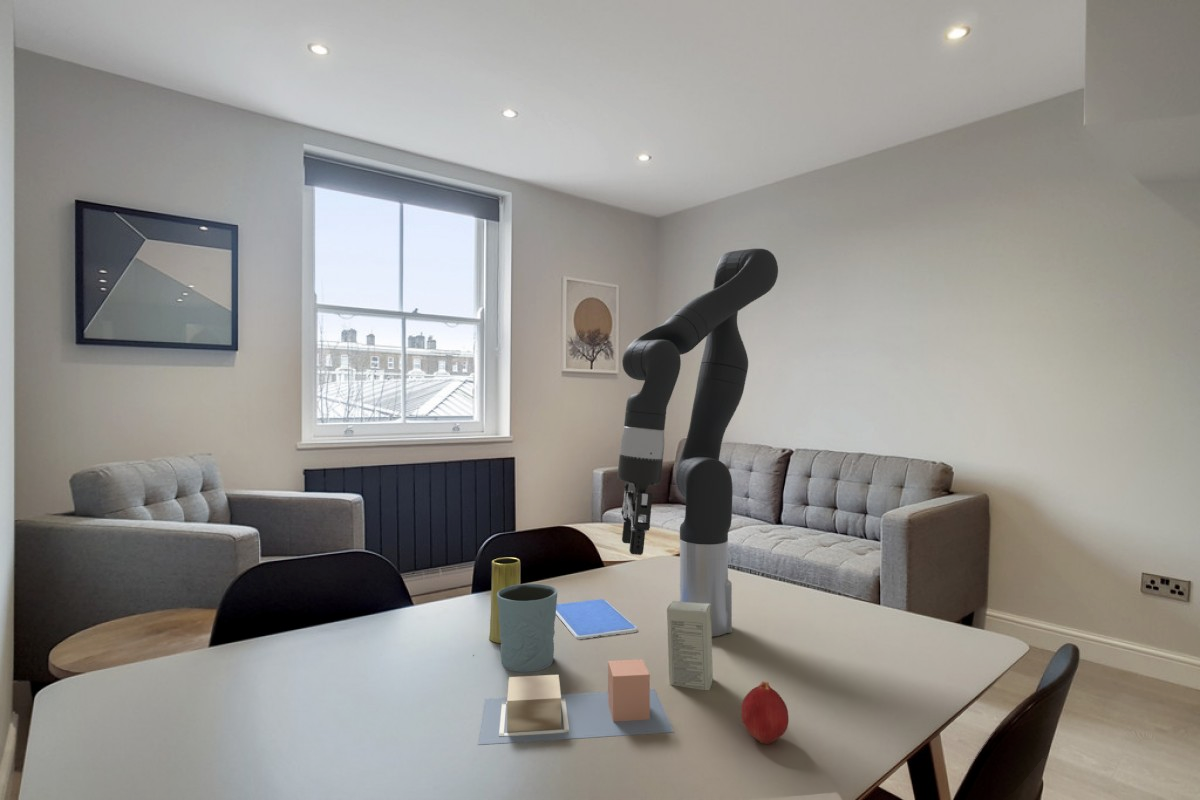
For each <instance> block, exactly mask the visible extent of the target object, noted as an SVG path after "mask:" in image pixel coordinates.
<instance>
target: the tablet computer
mask: <svg viewBox="0 0 1200 800" xmlns="http://www.w3.org/2000/svg"><path fill="white" fill-rule="evenodd" d="M556 616H557V618H559V620H560V621H561V622H562V623H563V625H564V626H565V627H566V628H567V630H568V631H569V632H570V634H571V635H572V636H573V638H575V639H576V640H578V639H583V640H586V639H585V638H588V639H594V638H593V637H598V638H600V637H599V636H605V637H609V636H608V635H612V636H617V635H616V634H620V635H625V634H626V633H627V634H633V633H634V632H635V633H637V632H639V631H638V630H639V629H638V626H636V625H634V624H633V622H631V621H630V620H629V619H628V618H626V617H625V616H624V615H623V614H622V613H621V612H620V611H618V610H617V609H616V608H615V607H614V606H613V605H611V603H609V602H608V601H607V600H605V599H603V598H599V599H590V600H581V601H575V602H573V601H572V602H565V603H558V604H556ZM627 634H626V635H627Z"/></svg>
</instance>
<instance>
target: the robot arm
mask: <svg viewBox="0 0 1200 800" xmlns="http://www.w3.org/2000/svg"><path fill="white" fill-rule="evenodd" d="M717 262H718V263H717V265H716V268H715V272H714V278H713V286H712V287H713V288H712V290H710V291H708V292H706V293H703V294H701V295H699V296H697V297H696V298H694V299H692V300H690V301H688V302H687V303H685V304H684V305H683V306H682V307H680V308H679V309H678V310H677V311H676V312H674V313H673V314H672V315H671V316H670V317H668V319H667V320H666V321H664V322H663V323H661V324H659V325H658V326H655V327H654V328H652V329H650V330H649V331H647V332H645V333H643V334H642V335H640V336H639V337H637V338H635V339H634V340H633V341H632V342H631V343H630V344H629V345H628V346H627V347H626V349H625V350H624V353H623V355H622V361H621V362H622V368H623V371H624V372H625V374H626V375H627V376H628V377H630V378H631V379H633V380H636V381H644V382H643V384H642V388H641V389H640V391H638V392H636V393H634V394H631V395H629V396H628V398H627V401H626V407H625V412H624V413H625V414H624V424H623V425H624V427H623V431H622V435H621V438H620V439H621V440H620V449H619V458H618V468H617V476H616V477H617V479H618V480H619V481H623V482H625V483H624V490H623V498H622V499H623V500H622V508H621V511H620V512H621V517H622V521H623V526H622V534H621V535H622V536H621V541H622V543H624V544H629V553H630V554H631V555H636V556H642V555H643V554H644V549H645V547H644V546H645V540H646V539H645V538H646V533H647V531H650V529H651V514H652V502H653V498H654V496H653V494H652V493H649V492H648V491H649V488H648V487H649V485H654V486H655V485H656V486H657V485H659V484H660V483H661V480H662V471H663V463H664V462H663V461H664V451H665V426H666V417H667V416H666V415H667V409H668V408H667V407H668V405H669V402H670V401H671V398H672V395H673V392H674V389H675V387H676V384H677V381H678V378H679V375H680V371H681V364H682V363H681V361H682V360H681V355H685V354H687V353H689V352H690V351H692V350H694V348H696V347H697V345H699V344H700V343H701V342H702V341H703V340H704V339H705V344H704V350H703V354H702V357H701V361H700V366H699V371H698V376H697V381H696V388H695V393H694V399H693V404H692V409H691V415H690V423H689V428H688V431H687V434H686V439H685V441H684V442H685V443H684V445H683V448H682V452H681V455H680V457H679V461H678V465H677V468H676V473H675V484H676V485H675V486H676V488H677V490H678V492H679V493H680V495H681V496H682V497H683V498H685V509H684V513H685V514H684V520H683V522H682V523H681V524H680V526H679V601H681V602H694V603H706V604H710V605H711V632H712V637H719V636H723V635H725V634H727V633H728V634H730V633H731V634H732V633H733V621H732V620H733V619H732V617H733V613H732V612H733V611H732V609H733V607H732V606H733V603H732V602H733V597H732V595H733V592H732V591H733V590H732V589H733V588H732V581H730V580H729V539H728V538H729V531H730V528H731V526H732V519H733V480H732V475H731V471H730V470H729V468H728V466H727V465H726V464H725V463H724V462H723V461H720V455H721V449H722V444H723V443H722V442H723V440H724V435H725V432H726V429H727V428H728V427H729V424H730V422H731V420H732V418H733V416H734V415H735V412H736V410H737V409H738V407H739V405H740V402H741V399H742V397H743V393H744V389H745V385H746V380H747V374H748V370H749V358H748V353H747V351H746V347H745V344H744V341H743V338H742V337H741V334H740V330H739V326H738V313H739V311H741V310H742V309H744V308H745V307H747V306H748V305H749V304H751V303H753V302H755V301H756V300H758V299H760V298H761V297H763V296H765V295H766V294H767V293H768V292H770V291H771V290H772V289H773V287H774V286H775V284H776V282H777V279H778V277H779V276H778V275H779V267H778V261H777V259H776V256H775V255H774V253H772V251H770V250H768V249H765V248H750V249H749V248H748V249H740V250H733V251H728V252H725V253H724V254H723V255H721V257H720V258H719V261H717ZM641 521H642V522H641Z"/></svg>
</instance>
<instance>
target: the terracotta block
mask: <svg viewBox="0 0 1200 800" xmlns="http://www.w3.org/2000/svg"><path fill="white" fill-rule="evenodd" d="M650 675H651V674H650V672H649V669H648V668H647V666H646V663H645V661H644V659H641V658H640V659H622V660H619V659H618V660H608V661H607V692H608V705H609V708H610V712H611V716H612V720H613V722H615V721H631V720H647V719H650V690H651V689H650V688H651V687H650V684H651V683H650V682H651V681H650V680H651V679H650V678H651V677H650Z"/></svg>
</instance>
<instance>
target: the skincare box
mask: <svg viewBox="0 0 1200 800" xmlns="http://www.w3.org/2000/svg"><path fill="white" fill-rule="evenodd" d="M666 615H667V619H666V620H667V621H666V622H667V649H668V650H667V651H668V652H667V653H668V654H667V656H668V681H669V682H668V683H669V685H670V686H675V687H681V688H687V689H695V690H702V691H710V689H711V686H712V684H713V680H714V677H713V676H714V675H713V673H714V672H713V641H712V640H713V636H712V632H711V605H710V604H706V603H694V602H681V601H680V600H679V601H677V600H673V601H672V602H671V603H670V604H669V605H668V606H667V608H666Z"/></svg>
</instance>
